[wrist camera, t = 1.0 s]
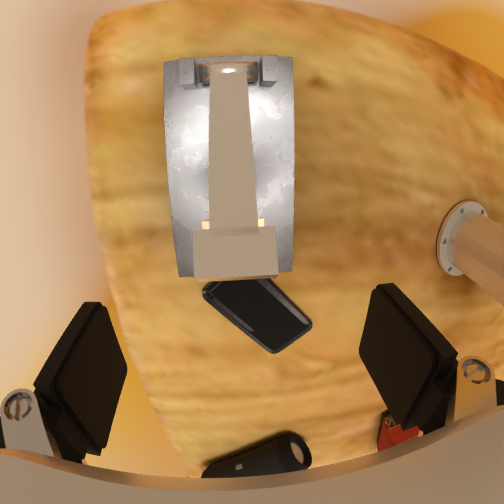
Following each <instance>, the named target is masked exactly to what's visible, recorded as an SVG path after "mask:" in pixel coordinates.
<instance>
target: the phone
mask: <svg viewBox="0 0 504 504" xmlns="http://www.w3.org/2000/svg"><path fill="white" fill-rule="evenodd" d="M202 294H203V298H204V299H205V300H206V301H207V302H208V303H209V304H210V305H212V306H213V307H214V308H215V309H216V310H217V311H219V312H220V313H221V314H222V315H223V316H225V317H226V318H227V319H228V320H229V321H231V322H232V323H233V324H234V325H235V326H237V327H238V328H239V329H240V330H242V331H243V332H244V333H245V334H246V335H248V336H249V337H250V338H251V339H253V340H254V341H255V342H256V343H258V344H259V345H260V346H261V347H263V348H264V349H265V350H266V351H268V352H269V353H272V354H275V353H278V352H280V351H282V350H283V349H284V348H286V347H287V346H289V345H290V344H292V343H293V342H294V341H296V340H297V339H299V338H300V337H301V336H303V335H304V334H306V333H307V332H308V331H310V330H311V328H312V321H311V320H310V318H309V317H308V316H307V315H306V314H305V313H304V312H303V311H302V310H301V309H300V308H299V307H298V306H297V305H296V304H295V303H294V302H293V301H292V300H291V299H290V298H289V297H288V296H287V295H286V294H285V293H284V292H283V291H282V290H281V289H280V288H279V287H278V286H277V285H276V284H275V283H274V282H273V281H272V280H271V279H270V278H265V279H248V280H229V281H210V282H209V283H208V284H207V285H206V286H205V287H204V288H203V293H202Z"/></svg>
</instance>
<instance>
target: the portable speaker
mask: <svg viewBox="0 0 504 504" xmlns="http://www.w3.org/2000/svg"><path fill="white" fill-rule="evenodd" d="M311 463H312V456H311V453H310V450H309V448H308V446H307V445H306V443H305V442H304V441H303V440H302V439H301V438H300V437H299V436H296V435H291V436H282V437H280V438H278V439H275V440H273V441H271V442H269V443H266V444H264V445H262V446H259V447H257V448H255V449H252V450H250V451H247V452H245V453H242V454H240V455H237V456H234V457H232V458H229V459H226V460H223V461H220V462H217V463H215V464H212V465H210V466H209V467H208V468H207V469H206V470H205V471H204V472H203V473H202V476H201V478H236V477H251V476H263V475H272V474H280V473H287V472H294V471H300V470H306V469H307V468H308V467H310V465H311Z"/></svg>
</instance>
